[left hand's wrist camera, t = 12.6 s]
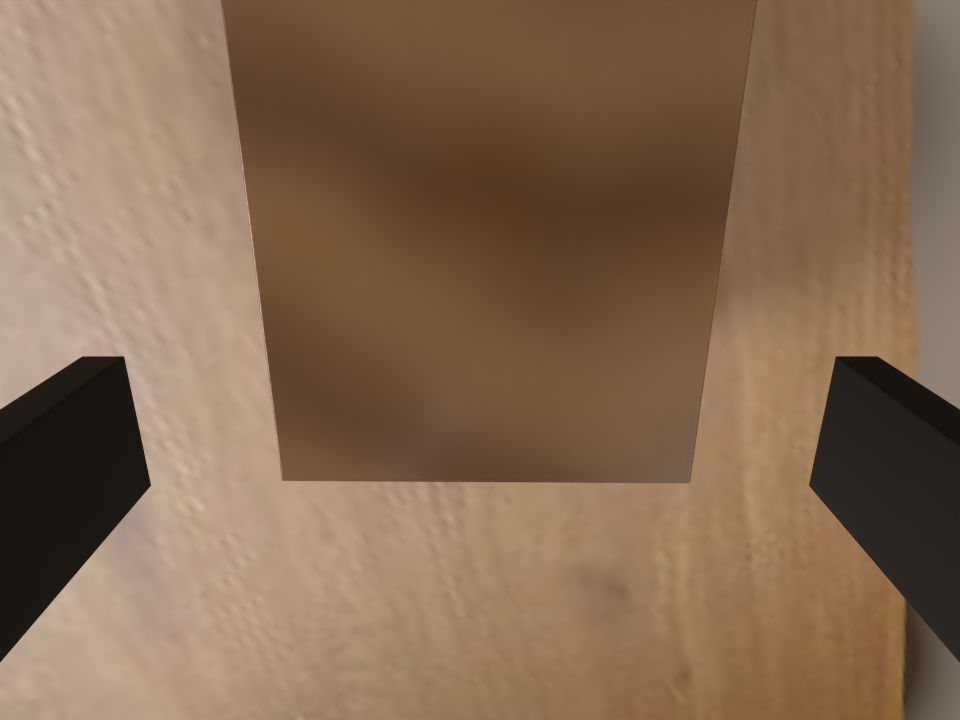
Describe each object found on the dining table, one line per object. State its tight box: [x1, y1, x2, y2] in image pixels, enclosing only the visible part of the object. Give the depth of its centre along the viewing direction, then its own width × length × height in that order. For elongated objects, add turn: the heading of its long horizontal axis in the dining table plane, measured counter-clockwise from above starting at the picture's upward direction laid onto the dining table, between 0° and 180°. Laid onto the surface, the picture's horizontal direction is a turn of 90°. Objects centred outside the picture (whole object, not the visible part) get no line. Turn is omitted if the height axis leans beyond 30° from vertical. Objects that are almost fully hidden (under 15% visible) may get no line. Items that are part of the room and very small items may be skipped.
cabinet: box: [221, 0, 757, 483], centre depth 20 cm, size 17×11×10 cm, turn 0°
